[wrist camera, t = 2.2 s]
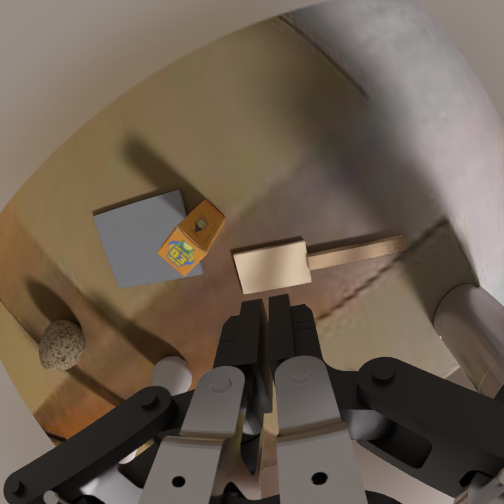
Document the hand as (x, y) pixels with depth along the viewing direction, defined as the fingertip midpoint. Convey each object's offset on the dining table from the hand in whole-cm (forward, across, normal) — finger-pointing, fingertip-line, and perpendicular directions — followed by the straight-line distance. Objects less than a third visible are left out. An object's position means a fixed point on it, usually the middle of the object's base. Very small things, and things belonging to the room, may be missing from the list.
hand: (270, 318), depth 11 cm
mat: (+21, +15, +1) cm, 26 cm away
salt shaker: (+21, +18, +20) cm, 34 cm away
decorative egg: (+21, +34, +12) cm, 42 cm away
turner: (+21, -5, +7) cm, 23 cm away
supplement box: (+21, +7, 0) cm, 22 cm away
